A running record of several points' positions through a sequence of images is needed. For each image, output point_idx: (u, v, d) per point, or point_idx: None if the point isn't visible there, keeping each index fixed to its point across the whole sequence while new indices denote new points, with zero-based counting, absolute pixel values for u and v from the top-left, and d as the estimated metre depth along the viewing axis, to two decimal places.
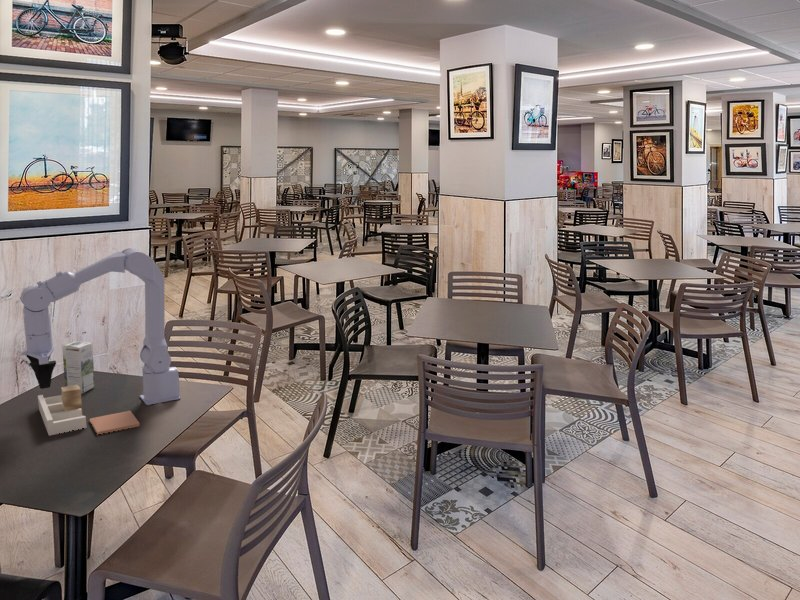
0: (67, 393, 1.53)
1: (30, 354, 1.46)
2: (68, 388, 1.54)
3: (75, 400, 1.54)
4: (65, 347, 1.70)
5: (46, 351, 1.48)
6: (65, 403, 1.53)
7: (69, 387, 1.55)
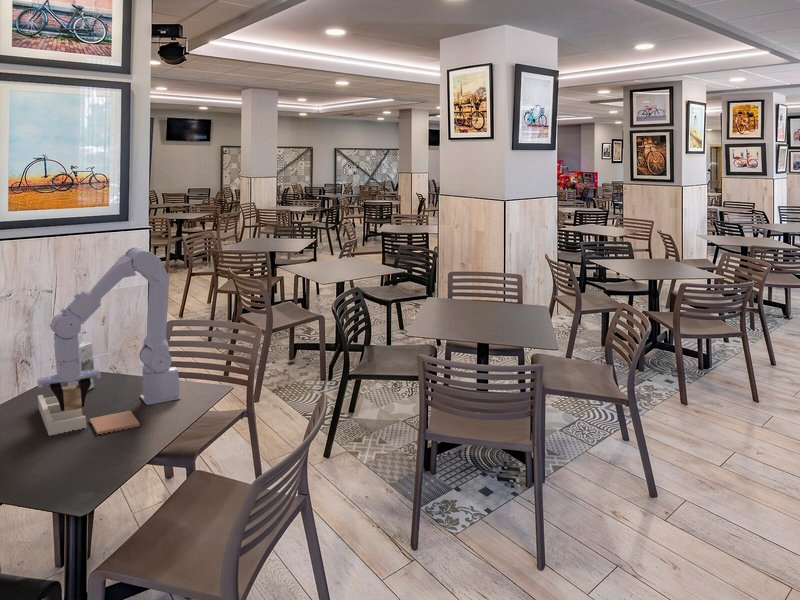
0: (67, 393, 1.53)
1: None
2: (68, 388, 1.54)
3: (75, 400, 1.54)
4: None
5: (58, 378, 1.52)
6: (65, 403, 1.53)
7: (69, 387, 1.55)
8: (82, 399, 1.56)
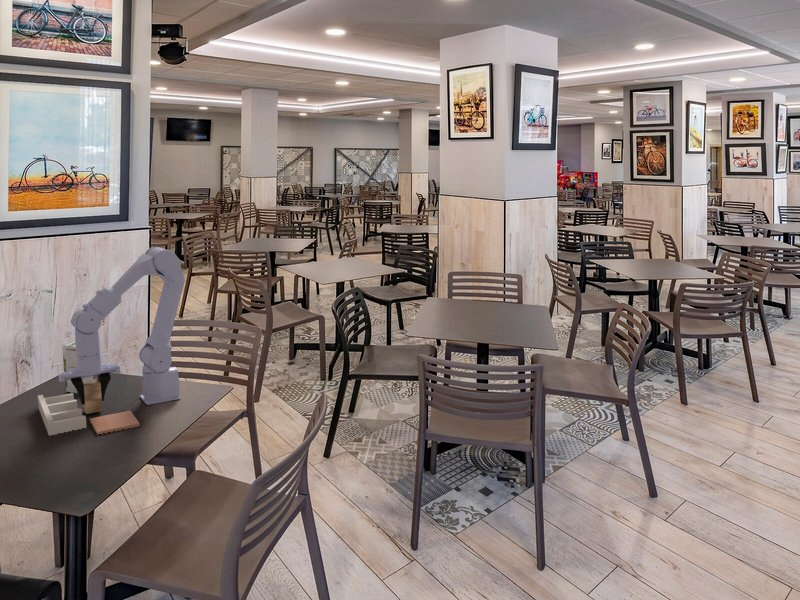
0: (88, 387, 1.55)
1: None
2: (89, 382, 1.57)
3: (95, 394, 1.57)
4: (65, 347, 1.70)
5: (79, 372, 1.54)
6: (86, 397, 1.56)
7: (89, 381, 1.58)
8: (102, 393, 1.58)
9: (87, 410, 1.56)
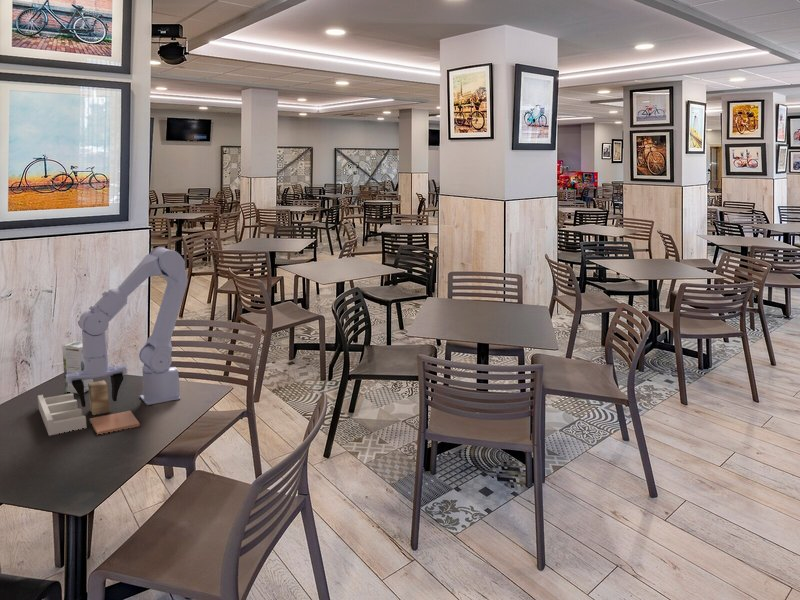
0: (95, 388, 1.57)
1: None
2: (95, 384, 1.58)
3: (102, 395, 1.58)
4: (65, 347, 1.70)
5: (86, 373, 1.55)
6: (92, 398, 1.57)
7: (96, 383, 1.59)
8: (115, 393, 1.60)
9: (94, 411, 1.57)
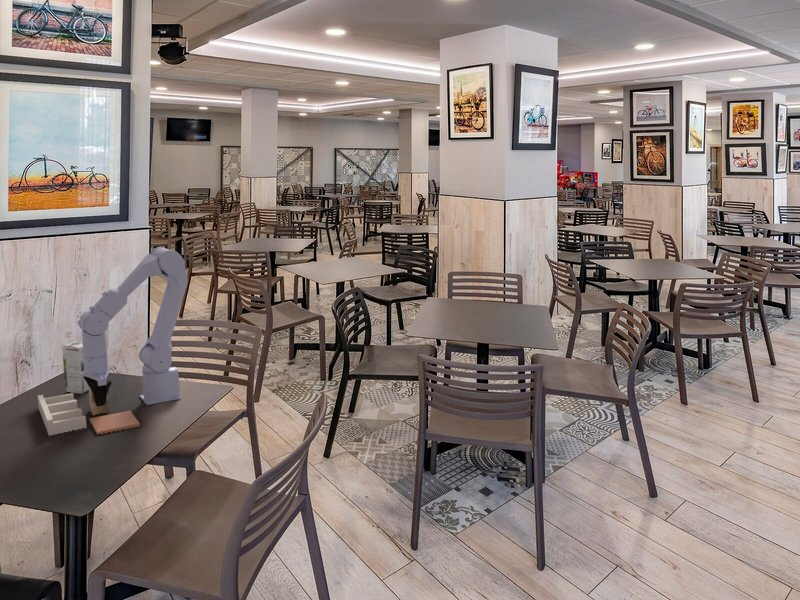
0: None
1: (88, 376, 1.55)
2: None
3: None
4: (65, 347, 1.70)
5: (103, 372, 1.56)
6: (92, 398, 1.57)
7: None
8: None
9: (94, 411, 1.57)
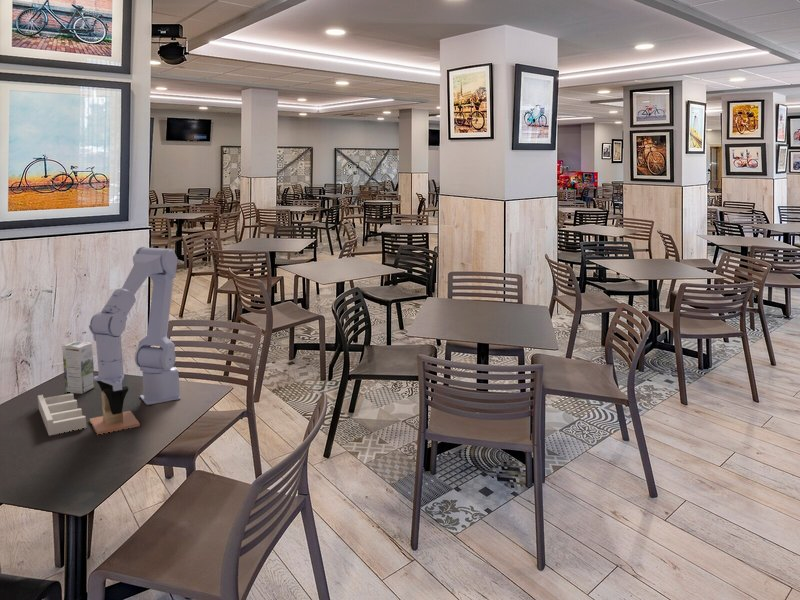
0: None
1: (103, 380, 1.47)
2: None
3: None
4: (65, 347, 1.70)
5: (118, 377, 1.48)
6: (106, 408, 1.49)
7: None
8: None
9: (107, 421, 1.50)
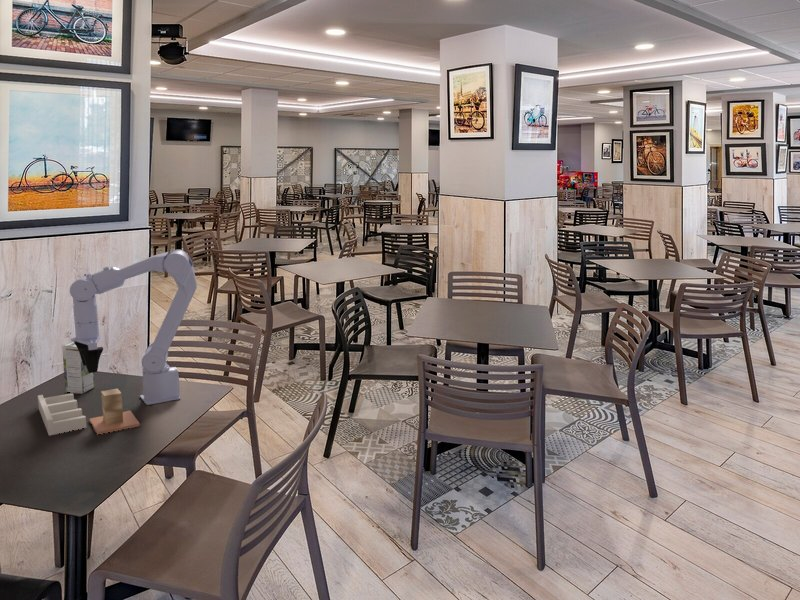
0: (108, 397, 1.49)
1: (79, 341, 1.58)
2: (109, 392, 1.50)
3: (115, 404, 1.50)
4: (65, 347, 1.70)
5: (94, 338, 1.60)
6: (106, 408, 1.49)
7: (109, 391, 1.51)
8: None
9: (107, 421, 1.50)
